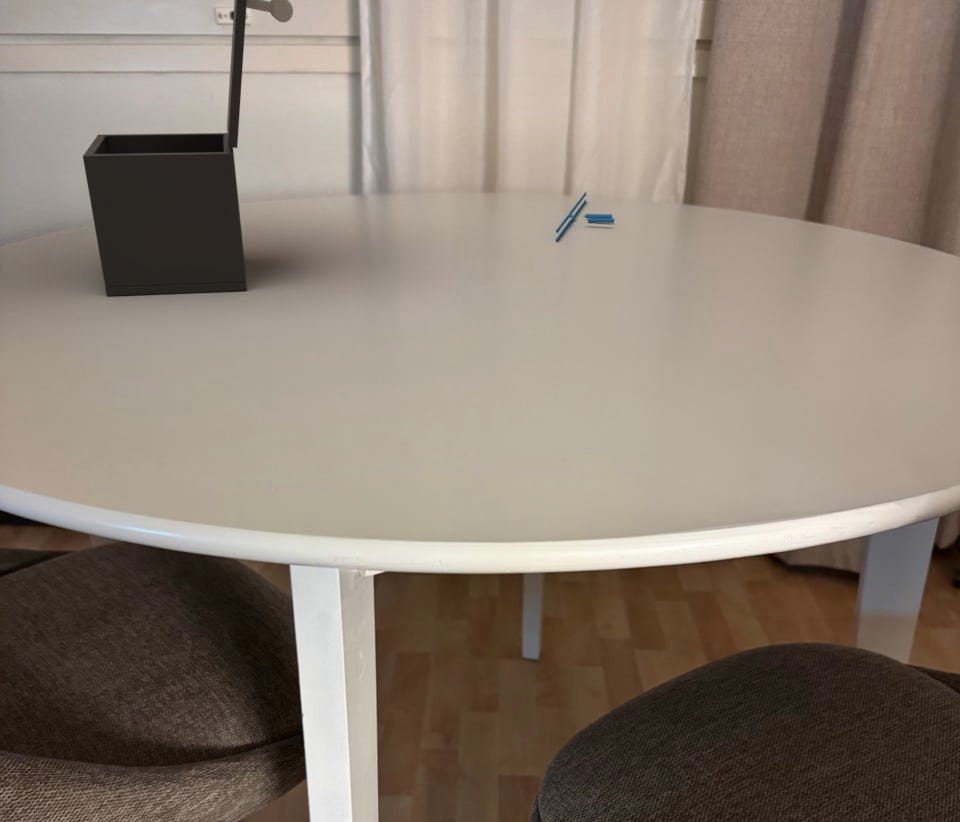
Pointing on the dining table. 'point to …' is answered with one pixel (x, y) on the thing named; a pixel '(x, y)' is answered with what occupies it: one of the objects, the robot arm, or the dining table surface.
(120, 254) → the box
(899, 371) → the dining table surface
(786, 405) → the dining table surface
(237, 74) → the lid
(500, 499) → the dining table surface
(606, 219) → the chopsticks
